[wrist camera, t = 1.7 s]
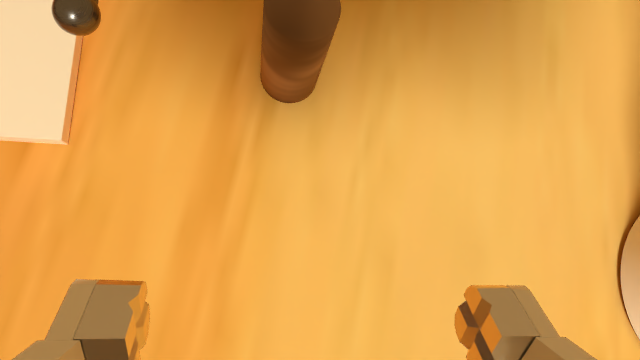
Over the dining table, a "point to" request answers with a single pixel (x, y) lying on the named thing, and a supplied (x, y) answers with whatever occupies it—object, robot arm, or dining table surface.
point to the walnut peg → (295, 45)
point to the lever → (76, 16)
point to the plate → (36, 73)
